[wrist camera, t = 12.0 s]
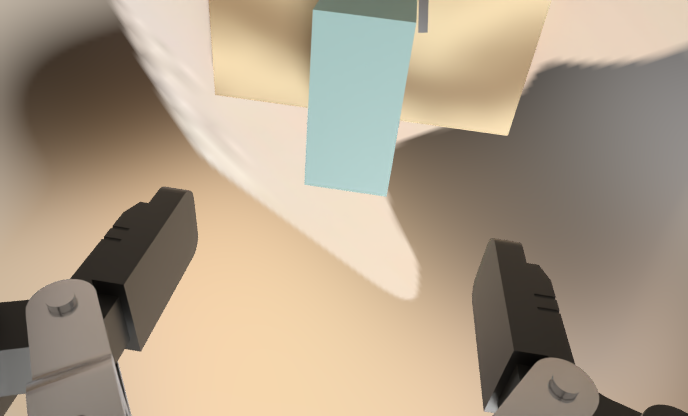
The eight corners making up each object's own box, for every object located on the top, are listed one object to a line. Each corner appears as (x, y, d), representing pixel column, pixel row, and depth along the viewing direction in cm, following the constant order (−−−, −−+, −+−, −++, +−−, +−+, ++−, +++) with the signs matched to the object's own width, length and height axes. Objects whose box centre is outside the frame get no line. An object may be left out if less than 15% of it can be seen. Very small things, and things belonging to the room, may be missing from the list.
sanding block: (333, -22, 26) (313, 9, 21) (417, -11, 25) (416, 22, 21) (323, 132, 31) (304, 184, 26) (392, 141, 31) (386, 196, 26)
